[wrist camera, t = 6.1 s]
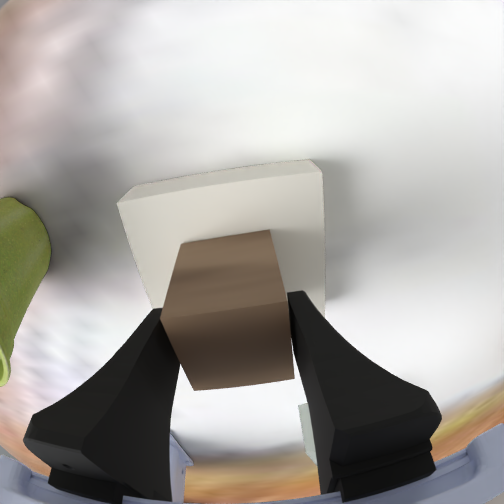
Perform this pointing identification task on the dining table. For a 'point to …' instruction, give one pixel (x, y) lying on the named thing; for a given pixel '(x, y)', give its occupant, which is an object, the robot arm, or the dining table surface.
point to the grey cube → (307, 431)
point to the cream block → (231, 221)
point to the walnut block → (229, 312)
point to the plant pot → (18, 271)
